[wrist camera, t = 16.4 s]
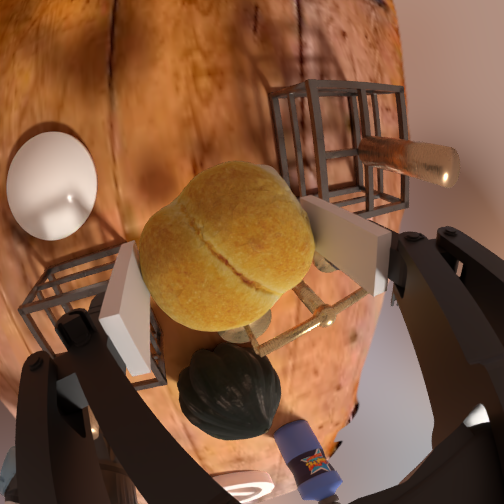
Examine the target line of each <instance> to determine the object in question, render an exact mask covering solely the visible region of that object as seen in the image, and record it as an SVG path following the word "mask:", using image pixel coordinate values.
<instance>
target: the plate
mask: <svg viewBox="0 0 504 504" xmlns="http://www.w3.org/2000/svg"><path fill="white" fill-rule="evenodd" d="M97 190H98V178H97V171H96V167H95V163H94V160H93V158H92V156H91V154H90V152H89V151H88V149H87V148H86V147H85V146H84V144H83V143H82V142H80V141H79V140H78V139H77V138H75V137H74V136H71V135H69V134H67V133H63V132H45V133H41V134H39V135H36V136H34V137H33V138H31V139H29V140H28V141H27V142H26V143H25V144H24V145H23V146H22V147H21V148H20V149H19V150H18V152H17V153H16V155H15V157H14V158H13V160H12V163H11V165H10V168H9V172H8V177H7V199H8V203H9V207H10V209H11V212H12V214H13V216H14V218H15V219H16V221H17V222H18V224H19V225H20V226H21V227H22V228H23V229H24V230H25V231H26V232H28V233H29V234H30V235H32V236H34V237H36V238H39V239H43V240H59V239H62V238H65V237H67V236H69V235H71V234H72V233H74V232H75V231H76V230H78V229H79V228H80V227H81V225H82V224H83V223H84V222H85V221H86V219H87V218H88V217H89V215H90V213H91V211H92V209H93V206H94V204H95V200H96V196H97Z"/></svg>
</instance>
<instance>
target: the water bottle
mask: <svg viewBox="0 0 504 504" xmlns="http://www.w3.org/2000/svg"><path fill="white" fill-rule="evenodd" d="M273 437H274V439H275V441H276V443H277V445H278V448H279V450H280V452H281V454H282V456H283V458H284V460H285V463H286V465H287V466H288V467H289V469H290V470H291V472H292V473H293V475H294V478H295V481H296V484H297V487H298V491H299V493H300V495H301V497H302V499H303V500H317V501H319V502H318V504H340V503H338V502H336V501H338V500H339V498H338V496H337V495H336V494H335V491H336V489H337V488H338V487H339V486H340V485H341V483H342V482H343V481H342V480H341V478H340V476H339V474H338V473H337V471H335V470H334V468H333V467H332V466H331V465H330V463H329V462H328V461H327V459H326V457H325V454H324V452H323V449H322V447H321V445H320V443H319V442H318V440H317V438H316V436H315V434H314V433H313V431H312V429H311V427H310V426H309V424H308V422H307V421H305V420H298V421H294V422H291V423H288V424H286V425H284V426H282V427H281V428H279V429H278V430H277V431H276V432H275V433H274V436H273ZM334 494H335V495H334Z"/></svg>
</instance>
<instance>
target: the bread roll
mask: <svg viewBox="0 0 504 504" xmlns="http://www.w3.org/2000/svg"><path fill="white" fill-rule="evenodd" d="M314 251H315V242H314V236H313V233H312V229H311V225H310V220H309V218H308V216H307V212H306V211H305V210H304V209H303V208H302V207H301V204H300V203H299V201H298V200H297V198H296V197H295V195H294V194H293V193H292V191H291V189H290V188H289V186H288V185H287V183H286V182H285V181H284V180H283V179H282V177H281V176H280V175H279V174H278V172H277V171H276V170H275V169H274V168H273V167H271V166H269V165H259V164H253V163H249V162H243V161H228V162H225V163H221V164H219V165H216V166H214V167H211V168H209V169H207V170H205V171H202V172H201V173H199V174H198V175H197V176H195V177H194V178H193V179H192V180H191V181H190V182H189V184H188V185H187V186H186V187H185V188H184V190H183V191H182V192H181V194H180V195H179V196H178V197H177V198H176V199H175V200H174V201H173V202H171V203H170V204H169V205H167V206H165V207H163V208H162V209H160V210H159V211H158V212H157V213H155V214H154V215H153V216H152V217H151V218H150V219H149V220H148V222H147V223H146V225H145V226H144V229H143V231H142V234H141V237H140V242H139V259H140V268H141V273H142V278H143V281H144V283H145V284H146V287H147V289H148V290H149V292H150V294H151V296H152V297H153V299H154V301H155V302H156V303H157V305H158V306H159V307H160V308H161V309H162V310H163V311H164V312H165V313H166V314H167V315H168V316H169V317H170V318H172V319H173V320H174V321H176V322H178V323H180V324H182V325H184V326H186V327H189V328H191V329H195V330H199V331H209V332H214V331H225V330H230V329H235V328H239V327H242V326H246V325H248V324H251V323H253V322H254V321H256V320H258V319H259V318H261V317H262V316H263V315H264V314H265V313H266V312H267V311H268V310H269V309H270V308H271V307H272V306H273V305H274V304H275V302H276V301H277V300H278V299H279V298H280V297H281V296H282V295H283V294H284V293H285V292H286V291H288V290H290V289H292V288H293V287H295V286H296V285H297V284H298V283H300V282H301V281H302V279H303V277H304V276H305V274H306V273H307V272H308V270H309V268H310V265H311V263H312V260H313V255H314Z"/></svg>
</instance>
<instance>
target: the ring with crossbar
mask: <svg viewBox="0 0 504 504" xmlns="http://www.w3.org/2000/svg"><path fill="white" fill-rule="evenodd" d="M212 478H213V479H214V480H215V481H216V482H217V483H218V484H219V485H221V486H222V487H223V488H224V489H225V490H226V491H227V492H228V493H230V494H231V495H232V496H233V497H234V498H235V499H237V500H238V501H239V502H240V503H244V502H248V501H251V500H254V499H256V498H259V497H261V496H263V495H265V494H268V493H270V492H272V489H273V488H274V484H273V482H272V479H271V477H270V475H269V473H267V472H263V471H243V472H235V473H229V474H224V475H219V476H215V477H212Z"/></svg>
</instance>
